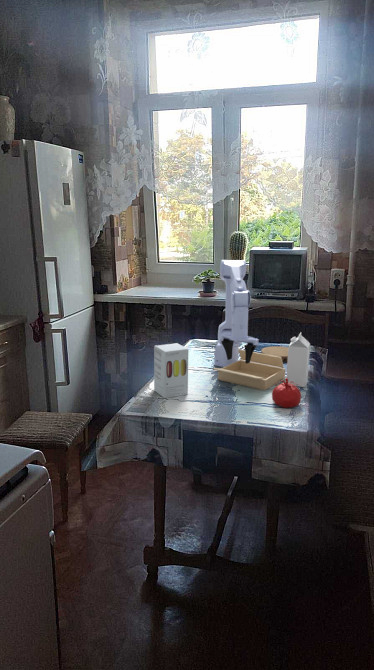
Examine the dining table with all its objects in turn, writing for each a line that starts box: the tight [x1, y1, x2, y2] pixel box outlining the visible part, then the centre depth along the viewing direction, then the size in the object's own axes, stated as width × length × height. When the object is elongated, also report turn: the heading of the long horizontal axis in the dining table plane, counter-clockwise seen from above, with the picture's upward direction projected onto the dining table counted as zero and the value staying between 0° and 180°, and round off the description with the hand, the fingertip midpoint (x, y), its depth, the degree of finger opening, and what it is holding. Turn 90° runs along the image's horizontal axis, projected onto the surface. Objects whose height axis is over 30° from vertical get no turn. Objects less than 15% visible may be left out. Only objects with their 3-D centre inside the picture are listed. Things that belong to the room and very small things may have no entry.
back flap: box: [238, 348, 285, 369], centre depth 199 cm, size 19×6×1 cm
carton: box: [217, 359, 286, 391], centre depth 195 cm, size 20×17×4 cm
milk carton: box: [286, 332, 311, 388], centre depth 189 cm, size 7×7×19 cm
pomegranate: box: [271, 377, 302, 409], centre depth 170 cm, size 10×10×9 cm
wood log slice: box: [260, 345, 288, 363], centre depth 225 cm, size 16×16×3 cm
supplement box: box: [153, 342, 189, 399], centre depth 179 cm, size 10×9×17 cm
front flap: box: [212, 367, 264, 379], centre depth 186 cm, size 19×6×1 cm, turn 54°
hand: (238, 361), depth 185 cm, fingers open, 7 cm apart
